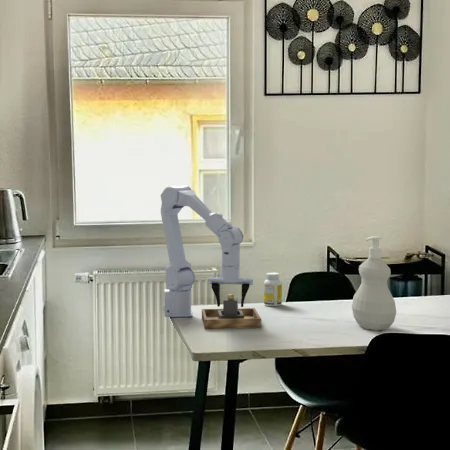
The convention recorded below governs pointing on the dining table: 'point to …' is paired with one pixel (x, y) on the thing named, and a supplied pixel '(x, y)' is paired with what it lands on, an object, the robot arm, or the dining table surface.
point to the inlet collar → (221, 316)
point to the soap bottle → (374, 292)
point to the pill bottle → (272, 290)
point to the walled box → (249, 319)
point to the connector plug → (230, 305)
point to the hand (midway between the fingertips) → (230, 306)
